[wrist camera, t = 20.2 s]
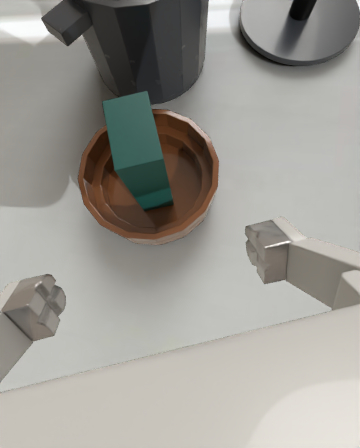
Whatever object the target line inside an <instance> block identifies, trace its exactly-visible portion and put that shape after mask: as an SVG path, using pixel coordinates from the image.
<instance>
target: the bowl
mask: <svg viewBox="0 0 360 448" xmlns="http://www.w3.org/2000/svg"><path fill="white" fill-rule="evenodd" d="M152 112H153V116H154V121H155V125H156V129H157V133H158V137H159V141H160V145H161V150H162V154H163V158H164V162H165V167H166V171H167V175H168V180H169V184H170V189H171V193H172V197H173V202H174V205H170V206H166V207H162V208H158V209H154V210H149V211H144V210H143V209H142V207H141V206H140V205H139V203H138V202H137V200H136V199H135V198H134V196H133V195H132V194H131V192H130V191H129V189H128V188H127V187H126V185H125V184H124V183H123V181H122V180H121V179H120V177H119V176H118V174H117V173H116V172H115V170H114V164H113V159H112V154H111V148H110V143H109V137H108V132H107V126H106V125H105V126H104V127H103V128H101V129H100V130H99V131H97V132H96V133H95V135H94V136H93V138H92V140H91V141H90V143H89V144H88V146H87V147H86V149H85V150H84V152H83V154H82V159H81V164H80V170H79V175H78V182H79V186H80V190H81V194H82V199H83V203H84V205H85V206H86V208H87V209H88V210H89V211H90V213H91V214H92V215H93V216H94V218H95V219H96V220H97V221H98V223H99V224H100V225H101V226H103V227H105V228H107V229H109V230H110V231H112V232H114V233H116V234H118V235H120V236H122V237H124V238H126V239H128V240H130V241H132V242H134V243H137V244H151V245H162V244H165V243H168V242H171V241H174V240H177V239H180V238H183V237H185V236H186V235H187V234H189V233H190V232H191V231H192V230H193V229H194V228H195V227H197V226H198V225H199V224H200V223H201V222H202V221H203V220H204V218H205V216H206V214H207V212H208V210H209V208H210V206H211V204H212V202H213V200H214V196H215V193H216V190H217V187H218V169H219V160H218V157H217V155H216V152H215V150H214V147H213V145H212V142H211V140H210V137H209V136H208V135H207V134H206V133H205V132H204V131H203V130H202V129H201V128H200V127H199V126H198V125H197V124H196V123H195V122H194V121H192V120H191V119H189V118H187V117H185V116H182V115H180V114H177V113H175V112H172V111H170V110H164V109H152Z"/></svg>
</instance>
